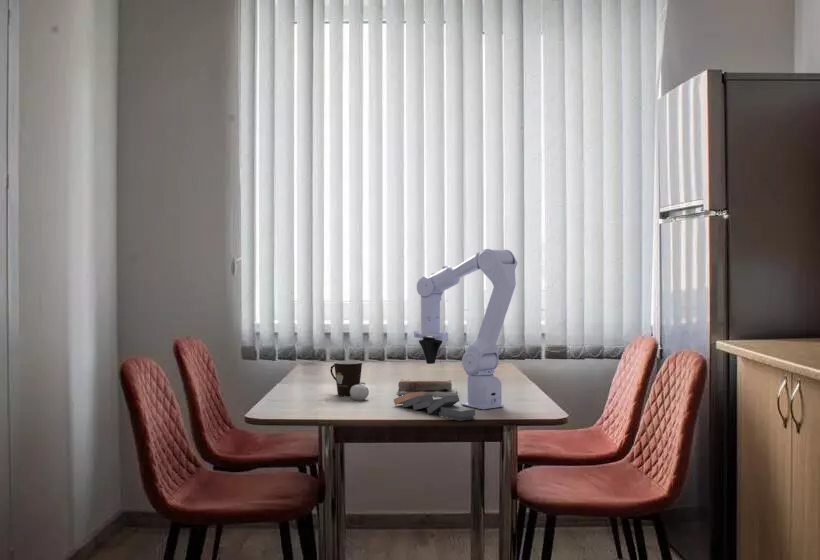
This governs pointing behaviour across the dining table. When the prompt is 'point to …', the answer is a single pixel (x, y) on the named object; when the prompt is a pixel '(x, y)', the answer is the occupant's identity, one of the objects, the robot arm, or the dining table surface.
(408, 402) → the domino
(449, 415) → the domino
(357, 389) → the garlic
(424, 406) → the domino
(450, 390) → the packaged product
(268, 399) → the dining table surface
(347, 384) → the coffee mug
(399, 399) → the domino
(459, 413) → the domino
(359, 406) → the dining table surface
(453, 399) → the domino
